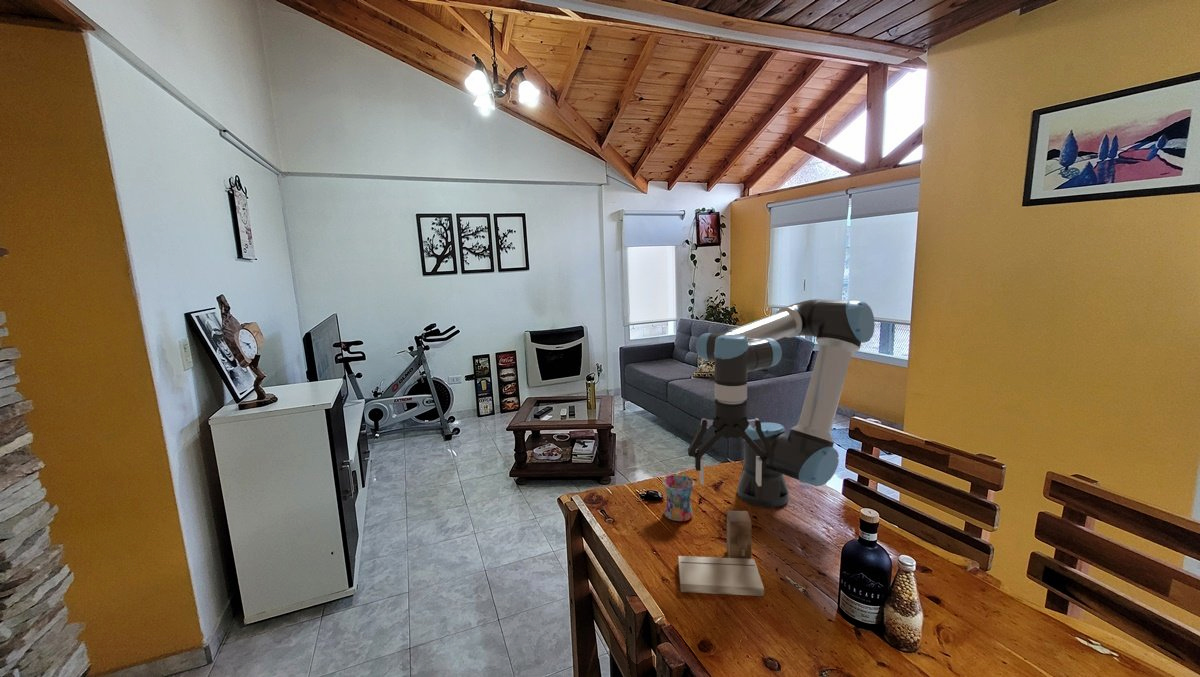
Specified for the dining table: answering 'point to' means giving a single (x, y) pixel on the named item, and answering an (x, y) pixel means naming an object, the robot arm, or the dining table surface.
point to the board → (719, 576)
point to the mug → (678, 497)
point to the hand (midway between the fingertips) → (729, 483)
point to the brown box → (738, 534)
